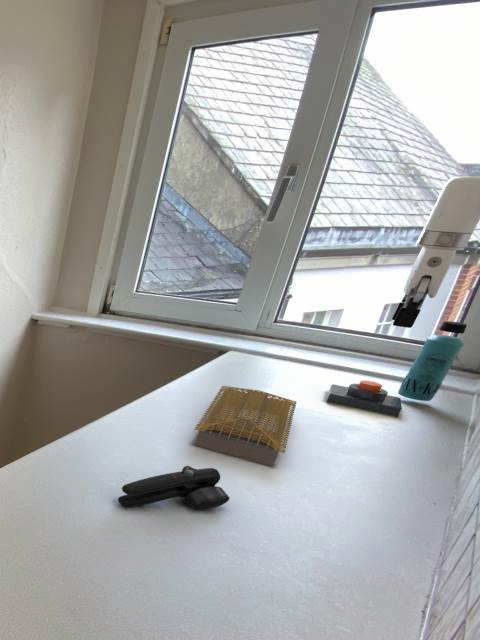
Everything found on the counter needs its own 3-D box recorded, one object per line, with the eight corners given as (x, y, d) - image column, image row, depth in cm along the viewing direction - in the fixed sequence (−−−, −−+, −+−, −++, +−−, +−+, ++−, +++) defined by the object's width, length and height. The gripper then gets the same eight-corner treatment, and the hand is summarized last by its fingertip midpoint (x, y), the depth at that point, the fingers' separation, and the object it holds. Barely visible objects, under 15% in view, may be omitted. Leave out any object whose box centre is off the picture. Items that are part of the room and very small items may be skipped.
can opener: (198, 488, 92) (209, 458, 90) (231, 510, 86) (244, 479, 83) (103, 493, 89) (112, 463, 87) (130, 517, 83) (141, 485, 80)
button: (378, 390, 132) (382, 383, 131) (378, 394, 129) (382, 387, 128) (357, 386, 134) (360, 379, 133) (356, 390, 131) (360, 383, 130)
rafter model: (277, 469, 99) (291, 439, 97) (188, 445, 108) (198, 416, 105) (290, 416, 124) (301, 390, 121) (217, 399, 132) (226, 375, 129)
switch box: (396, 406, 133) (404, 390, 131) (397, 417, 126) (406, 401, 124) (328, 392, 140) (335, 377, 138) (326, 401, 133) (333, 386, 132)
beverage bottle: (389, 395, 140) (430, 317, 131) (423, 400, 137) (467, 321, 128) (399, 403, 134) (443, 322, 125) (434, 409, 132) (481, 327, 123)
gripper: (472, 245, 108) (426, 333, 116) (462, 240, 120) (421, 321, 128) (420, 241, 113) (379, 326, 120) (416, 237, 124) (379, 315, 132)
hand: (401, 323), depth 124 cm, fingers open, 7 cm apart
